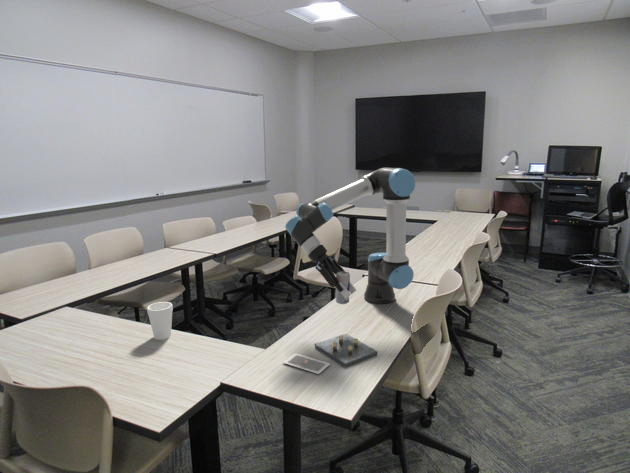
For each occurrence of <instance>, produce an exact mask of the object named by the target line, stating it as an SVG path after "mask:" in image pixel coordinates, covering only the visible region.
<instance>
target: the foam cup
mask: <svg viewBox="0 0 630 473" xmlns="http://www.w3.org/2000/svg"><path fill="white" fill-rule="evenodd" d="M173 309H174V307H173V304H172V302H170V301H169V302H168V301H159V302H154V303H151V304H149V305H148V306H147V309H146V310H147V312H146V313H147V315H148V319H149V322H150V326H151V327H150V328H151V331H152V335H153V338H154V339H155V340H158V341H163V340H167V339H169V338H170V337H172V325H173V324H172V322H173Z"/></svg>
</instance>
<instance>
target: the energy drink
mask: <svg viewBox="0 0 630 473" xmlns="http://www.w3.org/2000/svg"><path fill="white" fill-rule="evenodd" d="M335 276H336V278H337V280H338V281H339V282H341V283H342V284H343V286H344V287H345V288H346V289H347V290H348V292H349V286H350V283H351V280H350V278H351V275H350V273H349V271H345V270H344V271H340V272H337V274H336V275H335ZM349 293H350V292H349ZM335 302H336V304H340V305H346V304H348V303H349V302H350V296H349V297H348V298H347V299H345V298H344V297H343V295H342V294H341V293H340V292H339V290H338V289H337V288H336V287H335Z"/></svg>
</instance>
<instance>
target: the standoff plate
mask: <svg viewBox="0 0 630 473" xmlns="http://www.w3.org/2000/svg"><path fill="white" fill-rule="evenodd" d="M314 348H315V349H316V350H318V351H320V353H323V354H324V355H326V356H327V357H328V358H330V359H331V360H332V361H334V362H335V363H337V364H338V365H340V366H341V367H343V368H347V367H349V366H352V365H354V364H358V363H360V362H363V361H366V360H368V359H370V358H373V357H376V356H377V355H378V351H377V350H376V349H375V348H372V347H370V346H369V345H367V344H365V343H363V342H361V341H360V340H359V339H358V338H355V337H353V336H351V335H349V334H348V333H344V334H341V335H338V336H335V337H332V338H329V339H326V340H323V341H320V342H316V343H314Z"/></svg>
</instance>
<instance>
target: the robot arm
mask: <svg viewBox="0 0 630 473" xmlns="http://www.w3.org/2000/svg"><path fill="white" fill-rule="evenodd" d="M415 187H416V179H415V176H414V175H413V173H412V172H411V171H409V169H405V168H403V167H388V166H386V167H381V168H378V169H376V170H374V171H372V172H369V173H366V174H364V175H363V176H361V178H360V179H359V180H357V181H355V182H352V183H350V184H348V185H346V186H344V187H341V188H339V189H337V190H334V191H332V192H330V193H328V194H326V195H324V196H323V195H322V196H321V197H319V198H317V199H314V200H312V201H309V202H302V203H300V204H298V205H297V207H296V210H295V211H296V215H295V216H293V217H292V218H290V219H288V221H287V222H286V224H285V230H286V231H287V232H288V234H289V235H290V236H291V238H292V239H293V240H294V241H295V242H296V244H297V245H298V246H299V247H300V248H301V249H302V252H304V253H305V255H307V257H308V259H310V261H311V262H312V263H316V266H315V267H314V268H315V269H316V270H317V271H318V272H319V273H320V275H321V277H322V278H324V280H325V281H326V282H327V283H328V285H329V286H330V287H332V288H335V289H336V288H337V289H338V290H339V292H340V293H341V294H342V295H343V297H344V298H345V299H347V298H348V297H349V298H350V296H351V295H353V294H354V293H355V292H356V291H357V289H356V287H355V286H354V285H353V284H352V283H351V282H350V286H349V292H348V290H347V289H346V288H345V287H344V286H343V284H342V283H341V282H339V281H338V280H337V278H336V274H337V272H340V271H345V269H344V268H343V267H342V266H341V265H340V263H339V262H338V261H337V260H336V258H335V257H334V256H333V255H332V256H331V257H330V256H329V255H328V254H327V252H328V250H327V249H326V247H325V246H324V244H321V243H322V242H321V241H320V239H318V237H317V236H316V235H315V233H314V232H316V231H317V230H318V229H320V228H321V227H322V226H323V225H325V224H326V223H327V222H329V221H330V220H331V219H332V218H333V216H334V212H333V211H335V210H338V209H339V208H342V207H343V206H346V205H348V204H350V203H352V202H355V201H358V200H360V199H361V198H363V197H365V196H373V195H375V194H380V193H381V194H382V200H383V201H384V203H386V248H385V249H386V251H385V252H373V253H371V254H369V255H368V259H367V260H368V261H367V262H368V263H367V284H366V288H365V291H364V294H363V295H364V296H363V298H364V300H365V301H366V302H368V303H372V304H377V305H378V304H381V305H382V304H390V303H393V302H394V301H395V299H396V293H395V291H394V289H397V290H403V289H406V288H407V287H408V286H409V285H410V284H411V283H412V281H413V280H414V276H415V274H414V270H413V269H412V267H411V266H410V258H409V257H408V256H407V255H406V254H407V253H406V252H407V251H406V247H407V244H406V243H407V238H406V237H407V236H406V235H407V203H408V202H409V201H410V200H411V194H413V191H415Z"/></svg>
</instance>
